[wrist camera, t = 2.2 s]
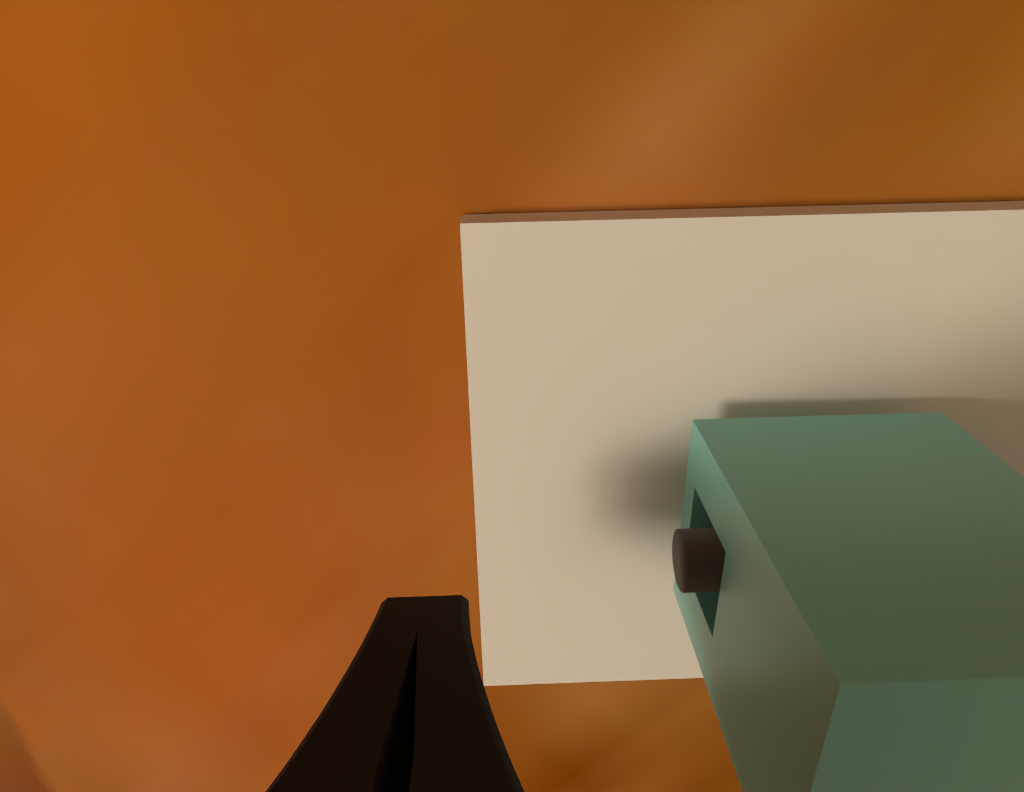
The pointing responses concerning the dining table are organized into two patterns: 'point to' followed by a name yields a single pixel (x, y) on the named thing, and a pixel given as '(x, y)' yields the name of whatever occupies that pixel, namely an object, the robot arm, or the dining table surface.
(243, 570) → the dining table surface
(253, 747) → the dining table surface
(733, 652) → the sleeve
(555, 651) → the rod stand
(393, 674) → the robot arm
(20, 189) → the dining table surface
